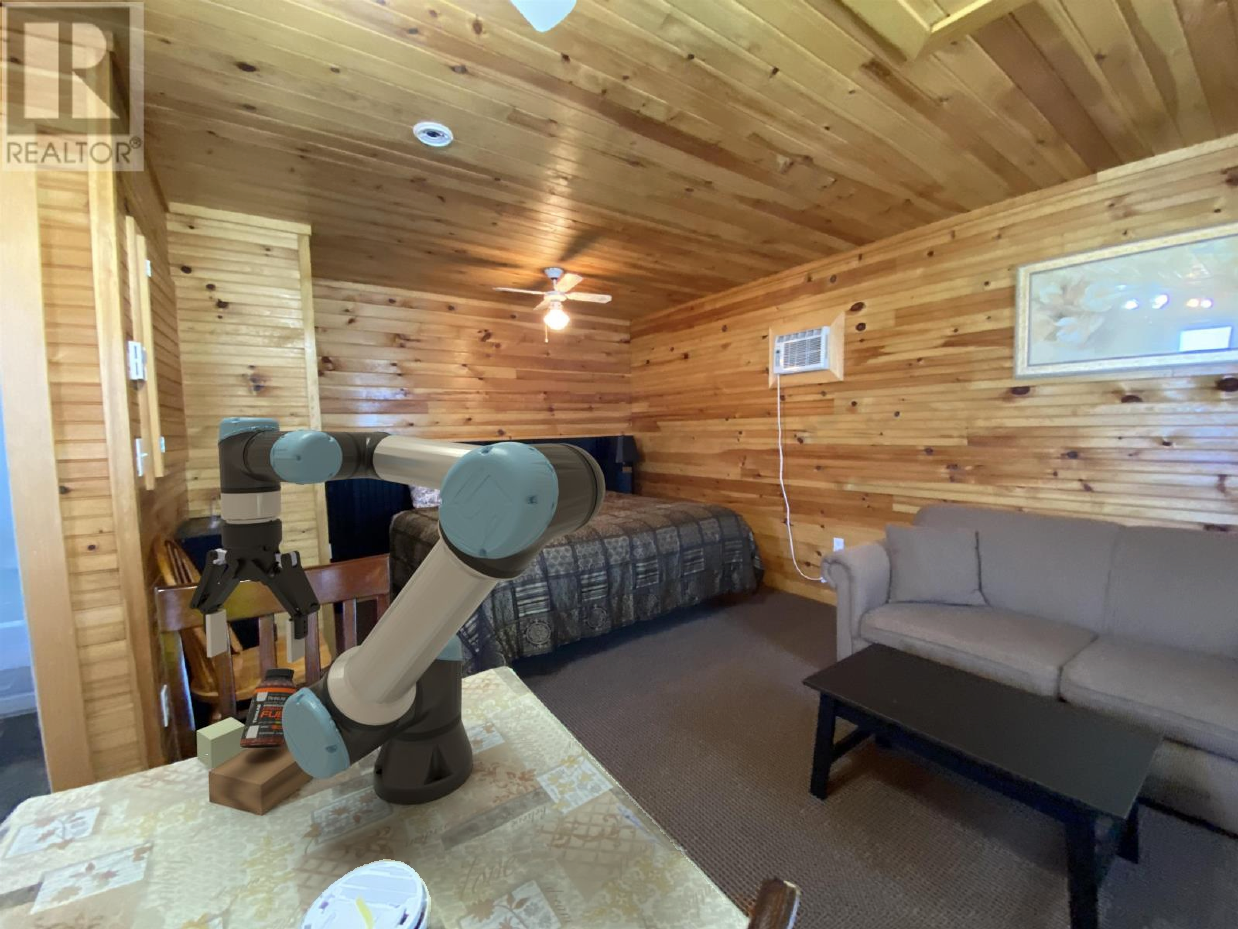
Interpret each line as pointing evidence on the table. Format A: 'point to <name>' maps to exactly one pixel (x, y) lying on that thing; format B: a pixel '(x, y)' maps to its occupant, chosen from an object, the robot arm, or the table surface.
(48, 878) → the table surface
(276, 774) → the walnut block
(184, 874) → the table surface
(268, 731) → the supplement bottle
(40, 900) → the table surface
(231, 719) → the sage block
